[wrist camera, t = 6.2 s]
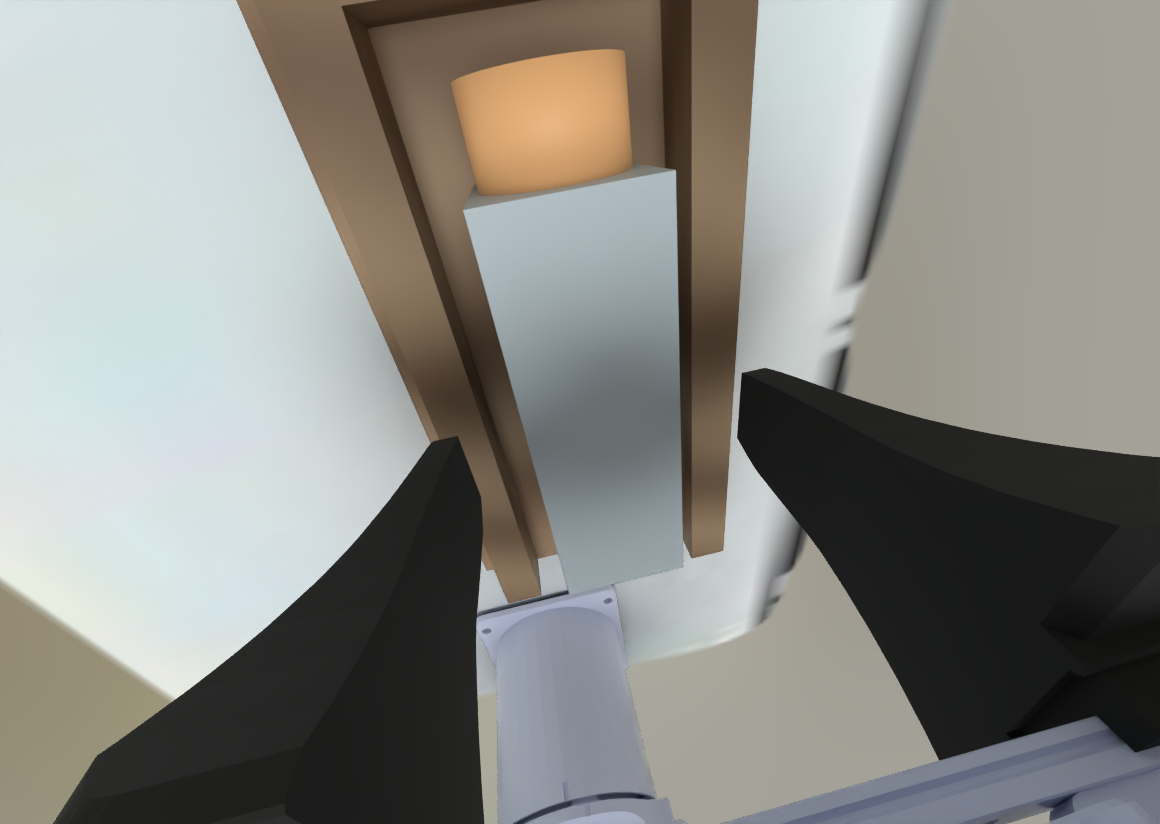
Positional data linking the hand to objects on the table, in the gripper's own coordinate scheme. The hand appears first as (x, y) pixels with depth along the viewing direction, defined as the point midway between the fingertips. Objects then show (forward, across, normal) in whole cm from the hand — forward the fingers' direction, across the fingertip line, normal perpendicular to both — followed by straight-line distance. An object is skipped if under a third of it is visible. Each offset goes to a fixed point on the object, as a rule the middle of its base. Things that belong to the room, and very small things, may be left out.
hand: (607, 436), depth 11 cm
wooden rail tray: (+6, 0, 0) cm, 6 cm away
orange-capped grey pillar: (+5, 0, 0) cm, 5 cm away
